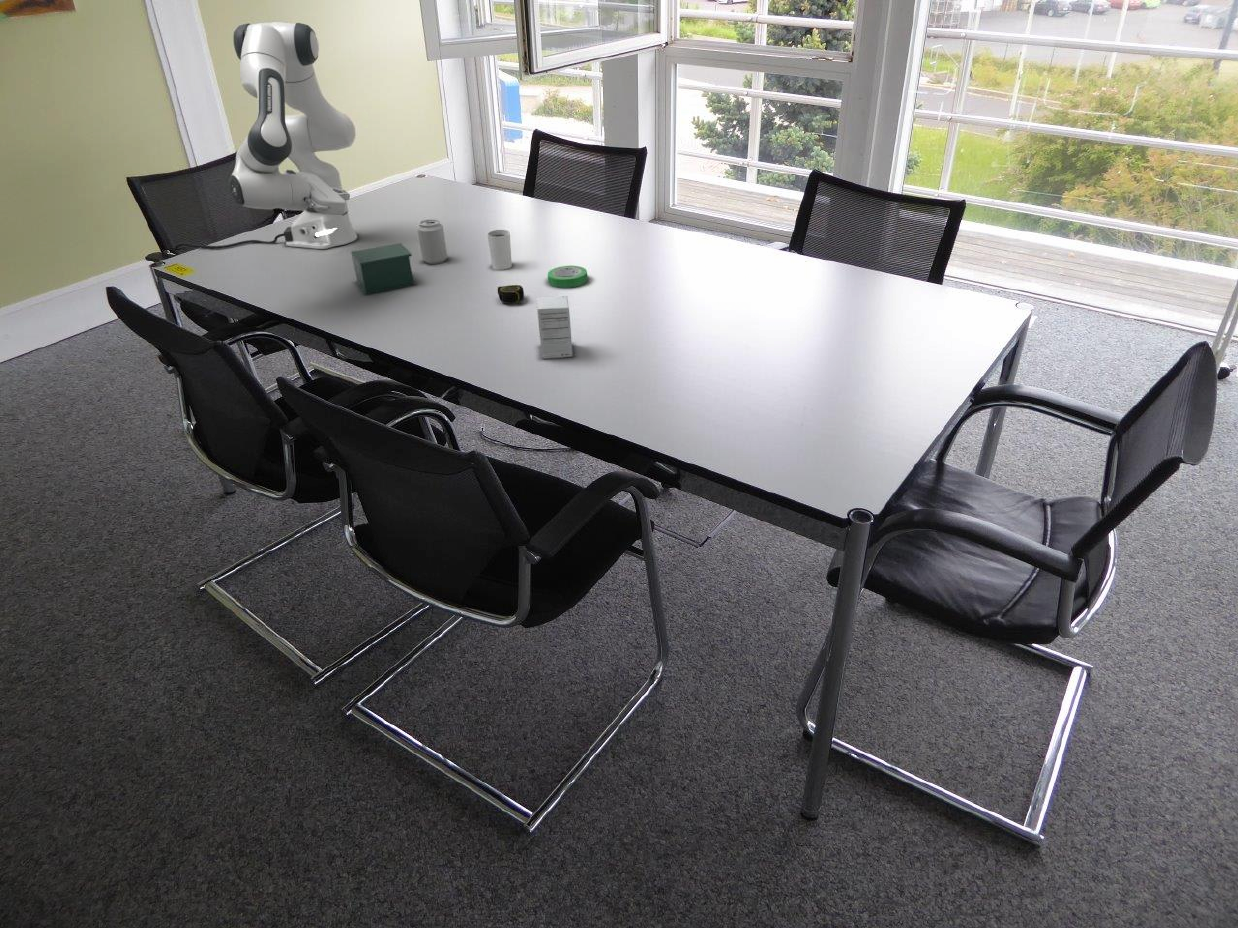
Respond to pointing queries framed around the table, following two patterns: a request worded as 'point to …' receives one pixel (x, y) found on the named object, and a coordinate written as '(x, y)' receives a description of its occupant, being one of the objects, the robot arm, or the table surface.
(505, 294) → the tape measure
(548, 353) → the white packaging box
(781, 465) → the table surface
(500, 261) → the white cup
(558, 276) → the tape roll
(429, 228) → the can
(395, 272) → the tin
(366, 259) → the tin lid
